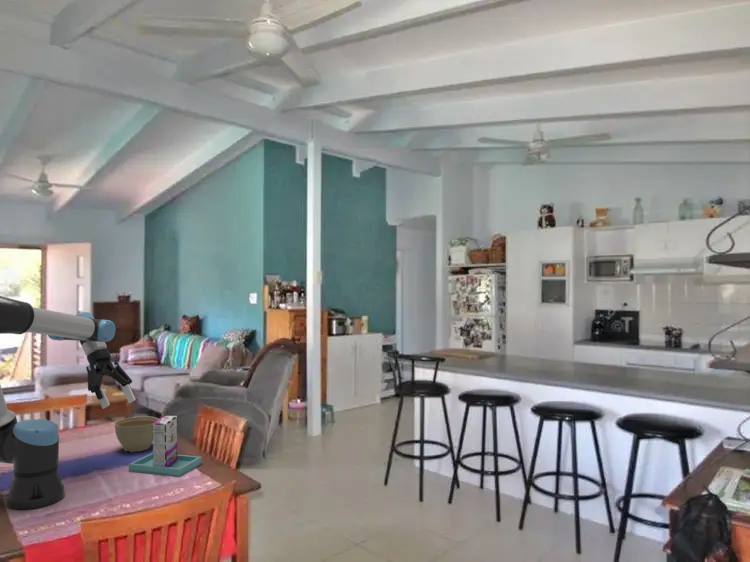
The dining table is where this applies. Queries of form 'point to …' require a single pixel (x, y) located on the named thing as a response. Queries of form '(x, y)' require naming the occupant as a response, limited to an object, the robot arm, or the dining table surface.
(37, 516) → the dining table surface
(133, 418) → the planter bowl
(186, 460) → the tray
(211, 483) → the dining table surface
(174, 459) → the candy bar box
